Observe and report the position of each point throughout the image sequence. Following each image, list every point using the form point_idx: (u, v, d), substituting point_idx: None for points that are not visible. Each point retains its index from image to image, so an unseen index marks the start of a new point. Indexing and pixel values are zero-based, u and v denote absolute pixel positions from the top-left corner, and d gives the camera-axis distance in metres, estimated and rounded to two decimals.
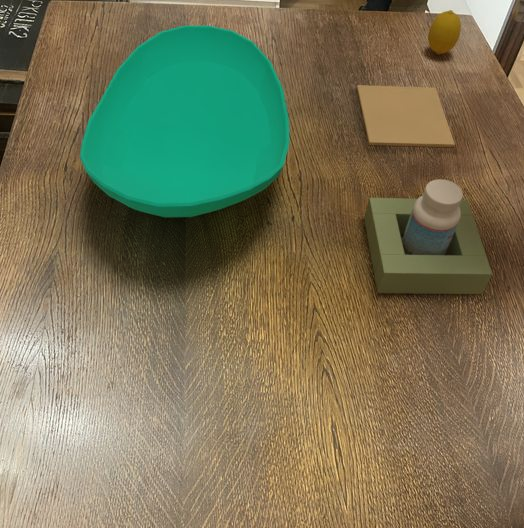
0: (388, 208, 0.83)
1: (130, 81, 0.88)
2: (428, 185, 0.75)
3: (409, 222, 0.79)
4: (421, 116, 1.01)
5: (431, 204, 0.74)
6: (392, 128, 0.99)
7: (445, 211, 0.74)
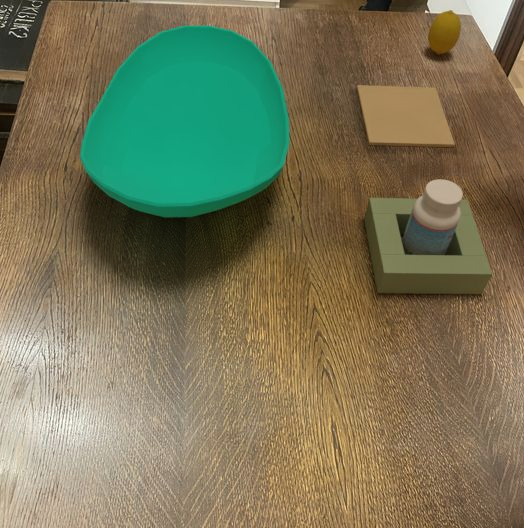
0: (388, 208, 0.83)
1: (130, 81, 0.88)
2: (428, 185, 0.75)
3: (409, 222, 0.79)
4: (421, 116, 1.01)
5: (431, 204, 0.74)
6: (392, 128, 0.99)
7: (445, 211, 0.74)
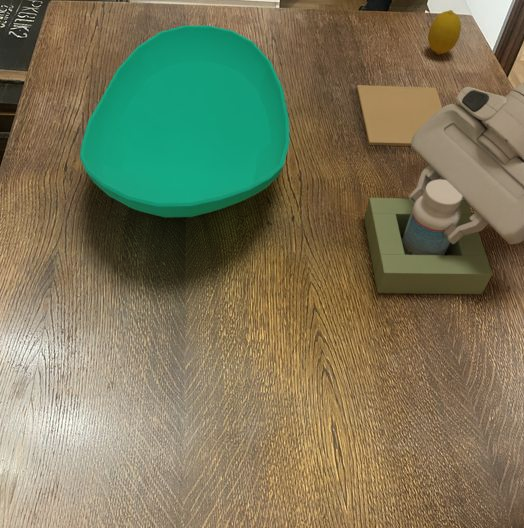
0: (388, 208, 0.83)
1: (130, 81, 0.88)
2: (428, 185, 0.75)
3: (409, 222, 0.79)
4: (421, 116, 1.01)
5: (431, 204, 0.74)
6: (392, 128, 0.99)
7: (445, 211, 0.74)
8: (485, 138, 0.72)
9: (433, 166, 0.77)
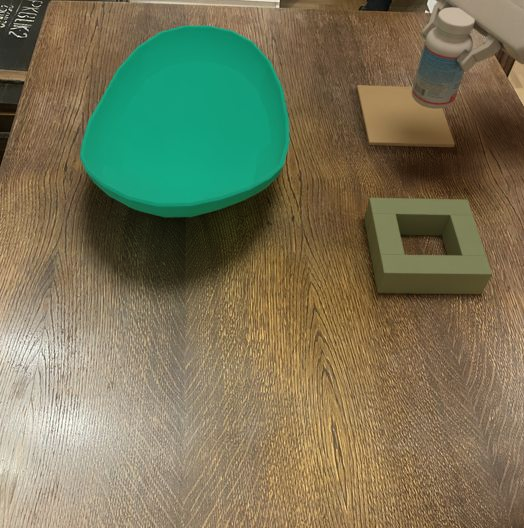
0: (388, 208, 0.83)
1: (130, 81, 0.88)
2: (441, 11, 0.76)
3: (422, 56, 0.80)
4: (421, 116, 1.01)
5: (444, 28, 0.75)
6: (392, 128, 0.99)
7: (458, 35, 0.76)
8: None
9: None
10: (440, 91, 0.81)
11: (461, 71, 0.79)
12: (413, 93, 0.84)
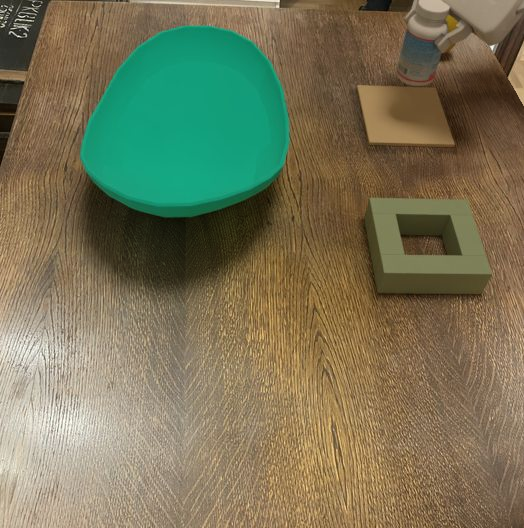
0: (388, 208, 0.83)
1: (130, 81, 0.88)
2: None
3: (404, 39, 0.91)
4: (421, 116, 1.01)
5: (423, 14, 0.87)
6: (392, 128, 0.99)
7: (435, 20, 0.87)
8: None
9: None
10: (420, 70, 0.92)
11: (438, 52, 0.91)
12: (397, 72, 0.95)
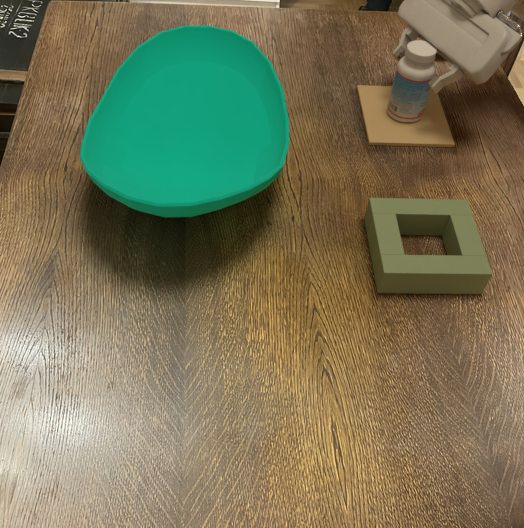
0: (388, 208, 0.83)
1: (130, 81, 0.88)
2: (409, 43, 0.93)
3: (394, 79, 0.97)
4: None
5: (411, 58, 0.92)
6: (392, 128, 0.99)
7: (422, 63, 0.92)
8: None
9: (415, 28, 0.94)
10: (410, 108, 0.98)
11: (426, 92, 0.96)
12: (387, 110, 1.01)
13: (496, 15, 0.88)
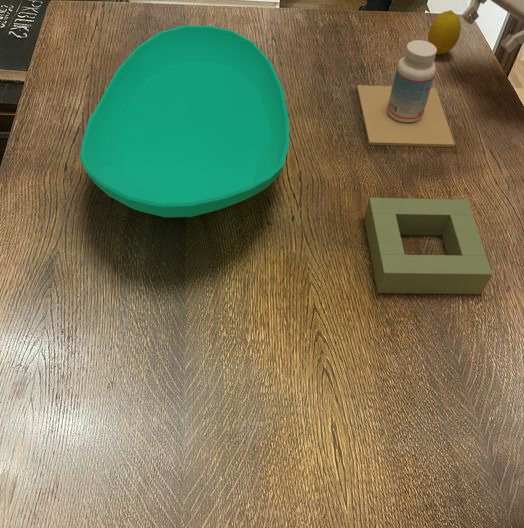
0: (388, 208, 0.83)
1: (130, 81, 0.88)
2: (409, 43, 0.93)
3: (394, 79, 0.97)
4: None
5: (411, 58, 0.92)
6: (392, 128, 0.99)
7: (422, 63, 0.92)
8: None
9: None
10: (410, 108, 0.98)
11: (426, 92, 0.96)
12: (387, 110, 1.01)
13: None
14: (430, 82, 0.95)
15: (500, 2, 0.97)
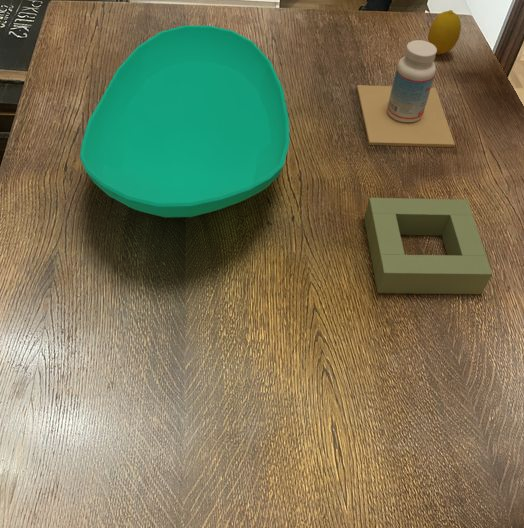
0: (388, 208, 0.83)
1: (130, 81, 0.88)
2: (409, 43, 0.93)
3: (394, 79, 0.97)
4: None
5: (411, 58, 0.92)
6: (392, 128, 0.99)
7: (422, 63, 0.92)
8: None
9: None
10: (410, 108, 0.98)
11: (426, 92, 0.96)
12: (387, 110, 1.01)
13: None
14: (430, 82, 0.95)
15: None
